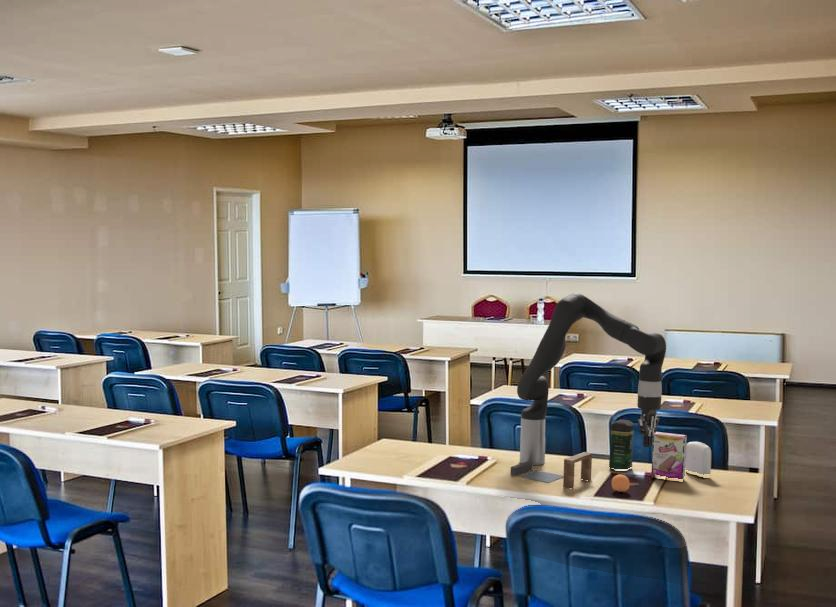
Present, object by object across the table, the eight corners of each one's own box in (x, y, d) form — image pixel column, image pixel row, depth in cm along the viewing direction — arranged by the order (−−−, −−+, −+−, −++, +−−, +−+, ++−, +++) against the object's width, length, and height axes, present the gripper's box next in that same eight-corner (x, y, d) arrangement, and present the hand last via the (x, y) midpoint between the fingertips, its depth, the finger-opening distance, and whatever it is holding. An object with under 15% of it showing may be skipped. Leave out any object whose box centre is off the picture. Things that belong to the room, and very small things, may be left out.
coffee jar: (627, 473, 315) (629, 423, 314) (606, 470, 319) (608, 421, 318) (634, 468, 324) (636, 419, 323) (613, 465, 328) (615, 417, 327)
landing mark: (535, 470, 316) (535, 470, 316) (564, 476, 309) (565, 475, 309) (518, 476, 307) (518, 476, 307) (548, 482, 300) (548, 482, 300)
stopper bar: (527, 469, 319) (527, 461, 318) (532, 470, 317) (532, 462, 317) (510, 475, 309) (510, 466, 309) (515, 476, 308) (515, 467, 308)
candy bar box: (650, 479, 308) (652, 433, 308) (653, 476, 313) (654, 431, 312) (683, 483, 304) (685, 437, 303) (685, 480, 308) (686, 434, 307)
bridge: (563, 487, 294) (564, 459, 294) (583, 478, 306) (584, 451, 306) (570, 488, 293) (571, 460, 292) (591, 480, 304) (592, 453, 304)
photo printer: (682, 472, 319) (684, 439, 318) (691, 471, 321) (693, 439, 320) (703, 479, 309) (704, 445, 309) (712, 478, 311) (713, 444, 311)
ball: (615, 488, 294) (616, 471, 294) (632, 492, 290) (632, 474, 290) (608, 492, 289) (608, 474, 289) (624, 495, 285) (625, 477, 285)
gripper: (647, 390, 290) (645, 441, 291) (630, 395, 279) (628, 448, 280) (668, 393, 285) (666, 445, 286) (652, 398, 275) (650, 451, 276)
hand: (647, 446), depth 283 cm, fingers closed
